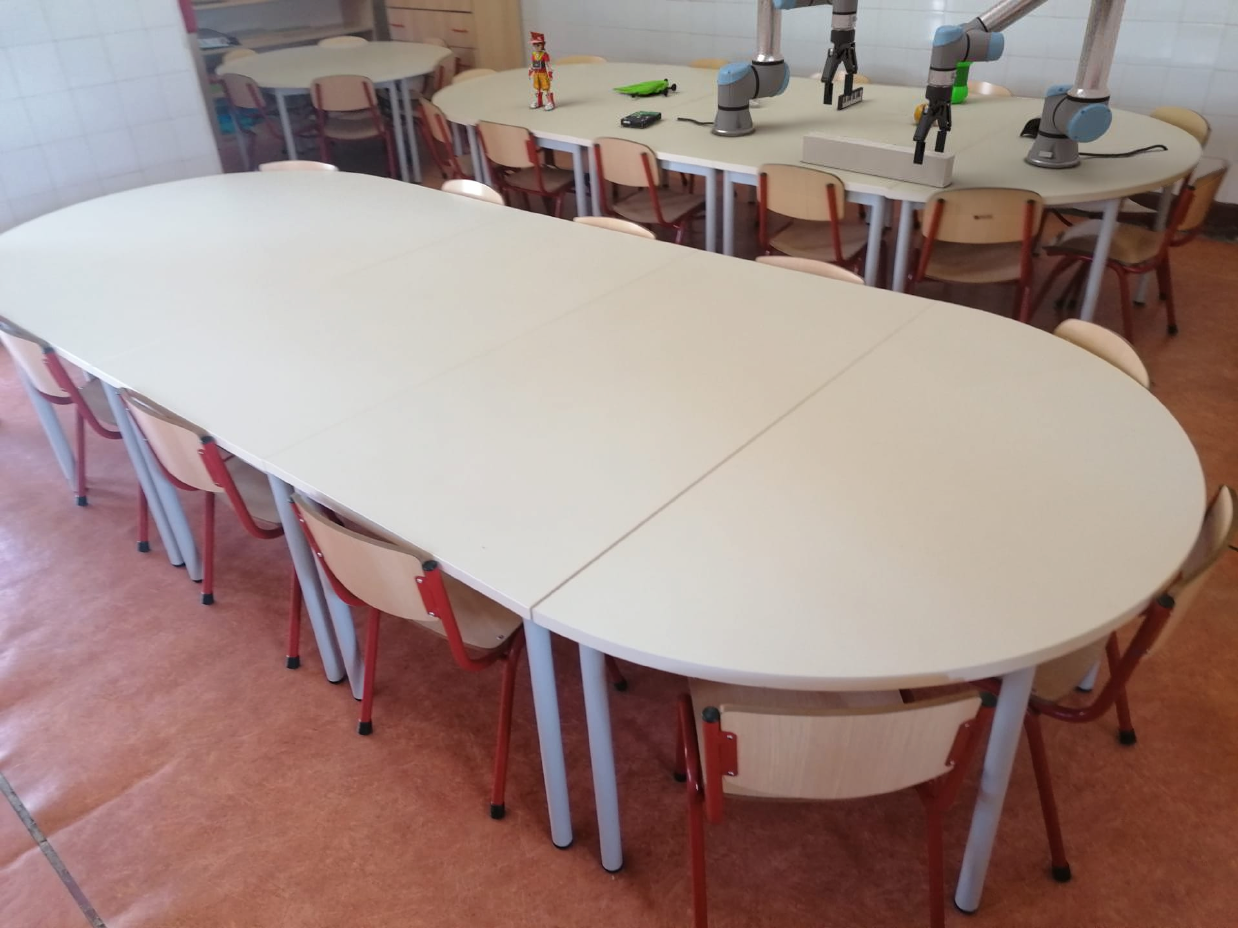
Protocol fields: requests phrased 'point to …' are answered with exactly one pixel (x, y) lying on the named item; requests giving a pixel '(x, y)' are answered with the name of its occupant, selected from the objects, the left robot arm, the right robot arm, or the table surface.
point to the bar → (877, 159)
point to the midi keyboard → (850, 98)
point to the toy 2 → (648, 88)
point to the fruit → (919, 112)
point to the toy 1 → (541, 71)
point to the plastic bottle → (960, 82)
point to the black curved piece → (1032, 126)
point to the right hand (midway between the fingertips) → (928, 158)
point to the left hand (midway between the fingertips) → (837, 100)
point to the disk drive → (641, 119)
